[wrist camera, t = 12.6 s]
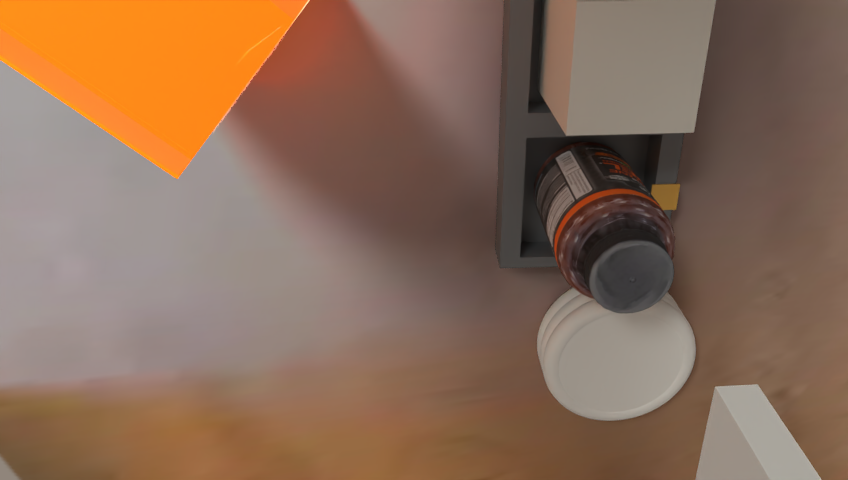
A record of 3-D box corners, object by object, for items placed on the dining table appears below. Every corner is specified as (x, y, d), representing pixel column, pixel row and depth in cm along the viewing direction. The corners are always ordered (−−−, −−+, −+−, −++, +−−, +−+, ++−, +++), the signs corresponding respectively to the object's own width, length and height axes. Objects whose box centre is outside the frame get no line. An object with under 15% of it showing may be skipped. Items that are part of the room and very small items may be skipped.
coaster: (672, 386, 51) (689, 420, 48) (534, 395, 51) (543, 429, 48) (687, 266, 47) (708, 294, 44) (536, 276, 47) (546, 305, 44)
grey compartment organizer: (506, -55, 37) (532, -35, 30) (700, -59, 37) (774, -40, 30) (495, 249, 45) (513, 324, 38) (653, 245, 46) (703, 318, 38)
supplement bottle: (649, 168, 43) (725, 261, 33) (589, 243, 45) (642, 352, 35) (569, 119, 41) (623, 200, 31) (511, 200, 43) (544, 300, 33)
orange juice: (248, 81, 40) (128, 251, 22) (106, -26, 37) (-160, 71, 20) (332, -32, 37) (271, 58, 20) (186, -156, 35) (-38, -180, 17)
